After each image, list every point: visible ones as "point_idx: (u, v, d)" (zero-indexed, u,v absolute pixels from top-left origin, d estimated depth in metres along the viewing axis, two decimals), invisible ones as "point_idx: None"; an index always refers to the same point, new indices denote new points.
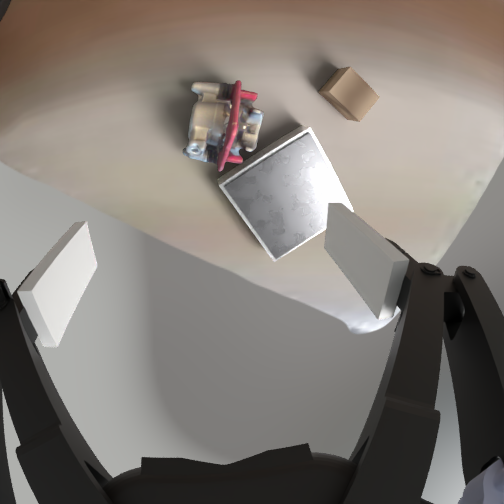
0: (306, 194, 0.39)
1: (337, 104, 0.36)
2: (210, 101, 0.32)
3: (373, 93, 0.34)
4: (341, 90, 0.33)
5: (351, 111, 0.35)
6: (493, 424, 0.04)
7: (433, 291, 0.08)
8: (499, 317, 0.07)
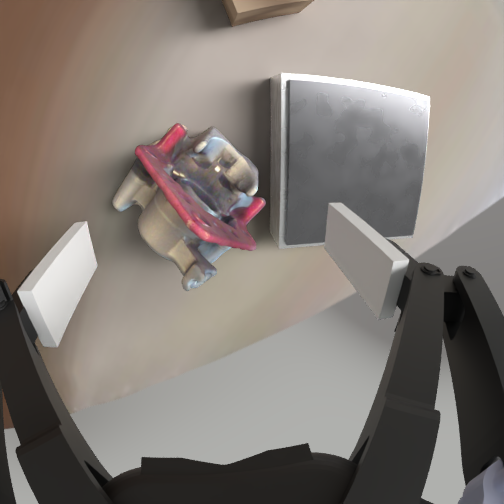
0: (372, 143, 0.21)
1: (267, 12, 0.17)
2: (149, 197, 0.21)
3: None
4: None
5: (291, 0, 0.15)
6: (493, 424, 0.04)
7: (433, 291, 0.08)
8: (499, 317, 0.07)
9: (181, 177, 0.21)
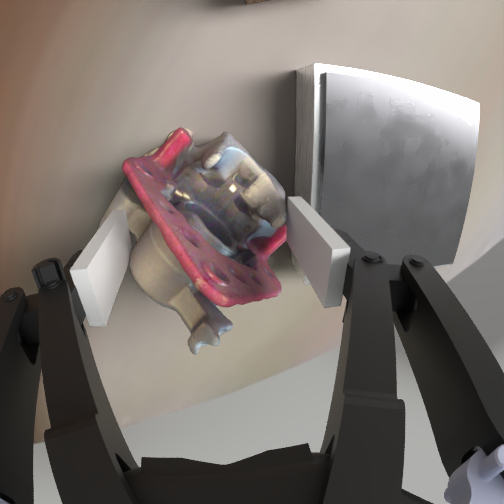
0: (421, 158, 0.16)
1: None
2: (144, 224, 0.17)
3: None
4: None
5: None
6: (467, 416, 0.05)
7: (377, 278, 0.09)
8: (455, 304, 0.08)
9: (185, 199, 0.16)
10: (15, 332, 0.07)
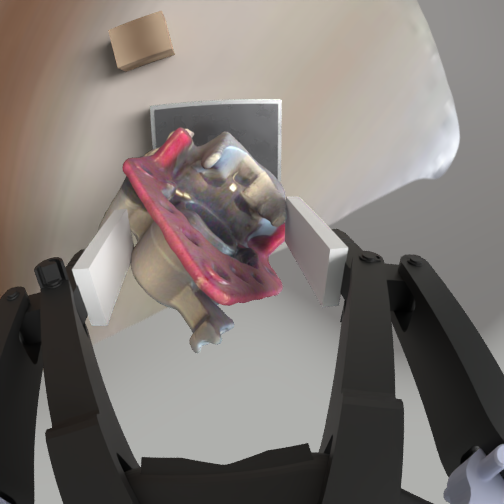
0: None
1: (143, 61, 0.26)
2: (145, 224, 0.17)
3: (152, 16, 0.22)
4: (125, 52, 0.24)
5: (154, 52, 0.24)
6: (466, 415, 0.05)
7: (375, 278, 0.09)
8: (453, 304, 0.08)
9: (186, 199, 0.16)
10: (17, 332, 0.07)
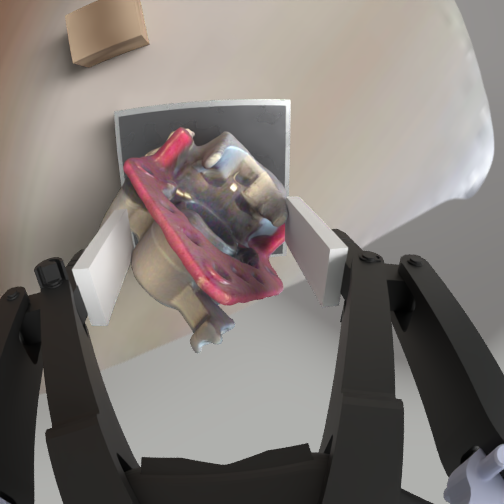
0: None
1: (107, 53, 0.18)
2: (146, 224, 0.17)
3: None
4: (82, 43, 0.16)
5: (118, 41, 0.17)
6: (466, 416, 0.05)
7: (375, 278, 0.09)
8: (453, 304, 0.08)
9: (186, 199, 0.16)
10: (17, 332, 0.07)
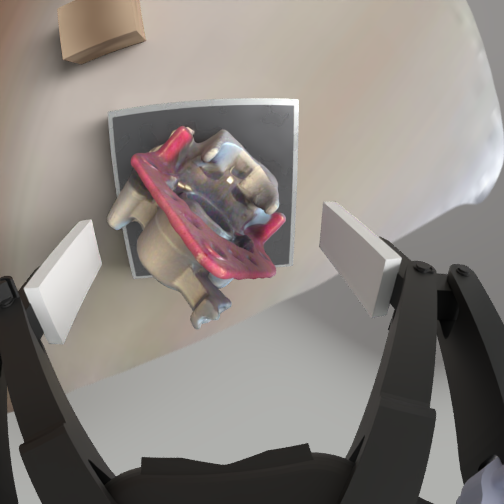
0: None
1: (100, 49, 0.17)
2: (150, 214, 0.18)
3: None
4: (74, 38, 0.14)
5: (111, 36, 0.15)
6: (490, 423, 0.04)
7: (425, 289, 0.09)
8: (493, 314, 0.07)
9: (187, 190, 0.18)
10: None
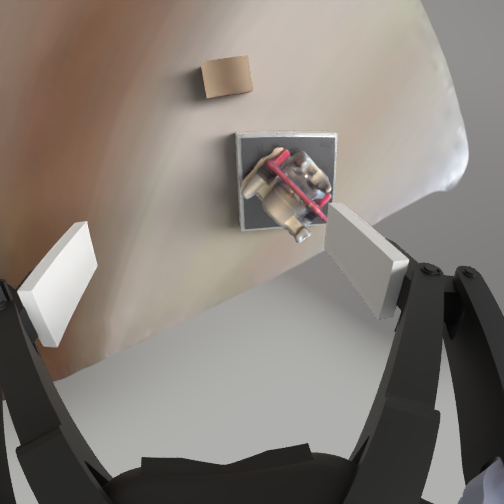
0: None
1: None
2: (267, 191, 0.37)
3: (239, 58, 0.32)
4: (214, 86, 0.33)
5: (238, 91, 0.34)
6: (493, 424, 0.04)
7: (433, 291, 0.08)
8: (499, 317, 0.07)
9: None
10: None
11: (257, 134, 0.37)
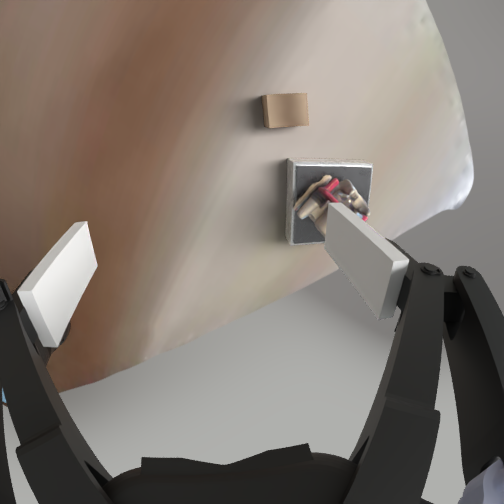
0: None
1: None
2: (319, 213, 0.44)
3: (300, 95, 0.39)
4: (276, 118, 0.40)
5: (296, 124, 0.41)
6: (493, 424, 0.04)
7: (433, 291, 0.08)
8: (499, 317, 0.07)
9: None
10: None
11: (310, 163, 0.44)
